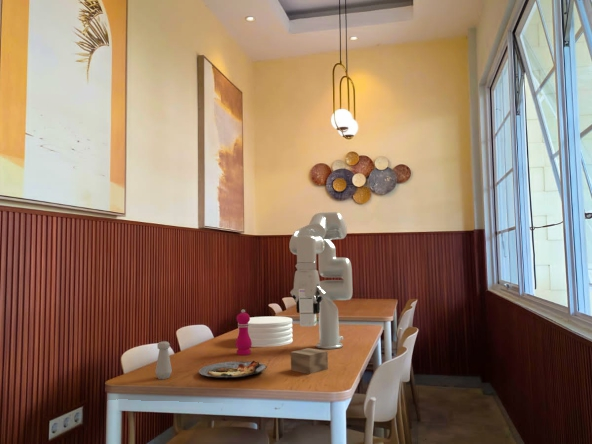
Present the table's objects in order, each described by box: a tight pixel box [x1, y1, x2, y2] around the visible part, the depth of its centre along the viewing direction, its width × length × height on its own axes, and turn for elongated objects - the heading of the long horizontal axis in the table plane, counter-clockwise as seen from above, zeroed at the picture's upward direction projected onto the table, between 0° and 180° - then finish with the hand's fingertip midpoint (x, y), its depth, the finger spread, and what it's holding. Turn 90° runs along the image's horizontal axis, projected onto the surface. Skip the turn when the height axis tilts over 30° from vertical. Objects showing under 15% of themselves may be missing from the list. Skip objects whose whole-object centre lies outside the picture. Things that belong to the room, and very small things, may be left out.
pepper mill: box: [235, 309, 252, 356], centre depth 211 cm, size 7×7×20 cm
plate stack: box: [237, 315, 294, 348], centre depth 240 cm, size 28×28×12 cm
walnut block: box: [290, 347, 329, 375], centre depth 178 cm, size 10×10×7 cm
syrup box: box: [298, 288, 318, 328], centre depth 179 cm, size 6×6×14 cm
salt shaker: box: [155, 341, 173, 380], centre depth 171 cm, size 6×6×13 cm
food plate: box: [198, 360, 268, 379], centre depth 175 cm, size 25×23×4 cm
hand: (308, 312), depth 179 cm, fingers closed on syrup box, 7 cm apart
